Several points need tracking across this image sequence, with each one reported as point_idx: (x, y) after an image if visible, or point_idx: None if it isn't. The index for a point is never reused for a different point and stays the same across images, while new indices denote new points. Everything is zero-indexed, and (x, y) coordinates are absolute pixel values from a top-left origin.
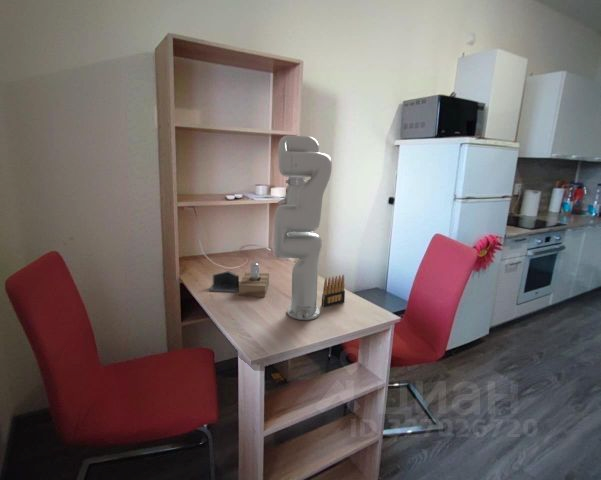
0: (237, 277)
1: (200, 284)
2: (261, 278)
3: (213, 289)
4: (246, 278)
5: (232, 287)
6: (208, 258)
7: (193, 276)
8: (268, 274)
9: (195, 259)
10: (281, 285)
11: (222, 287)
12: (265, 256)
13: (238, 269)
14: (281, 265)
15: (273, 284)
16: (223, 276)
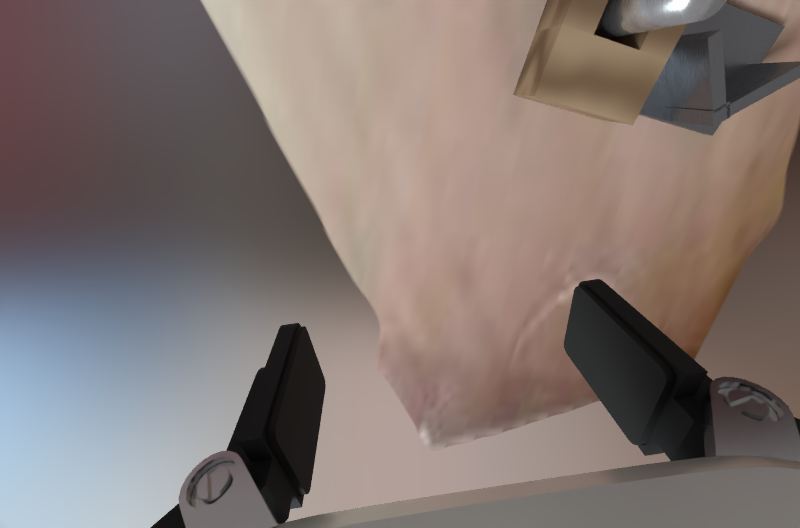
0: (708, 34)
1: (764, 120)
2: (599, 9)
3: (770, 22)
4: None
5: (692, 32)
6: None
7: (743, 210)
8: (543, 78)
9: None
10: (467, 61)
11: (729, 39)
12: (449, 380)
13: (574, 268)
14: (414, 300)
15: (497, 80)
16: (734, 92)
